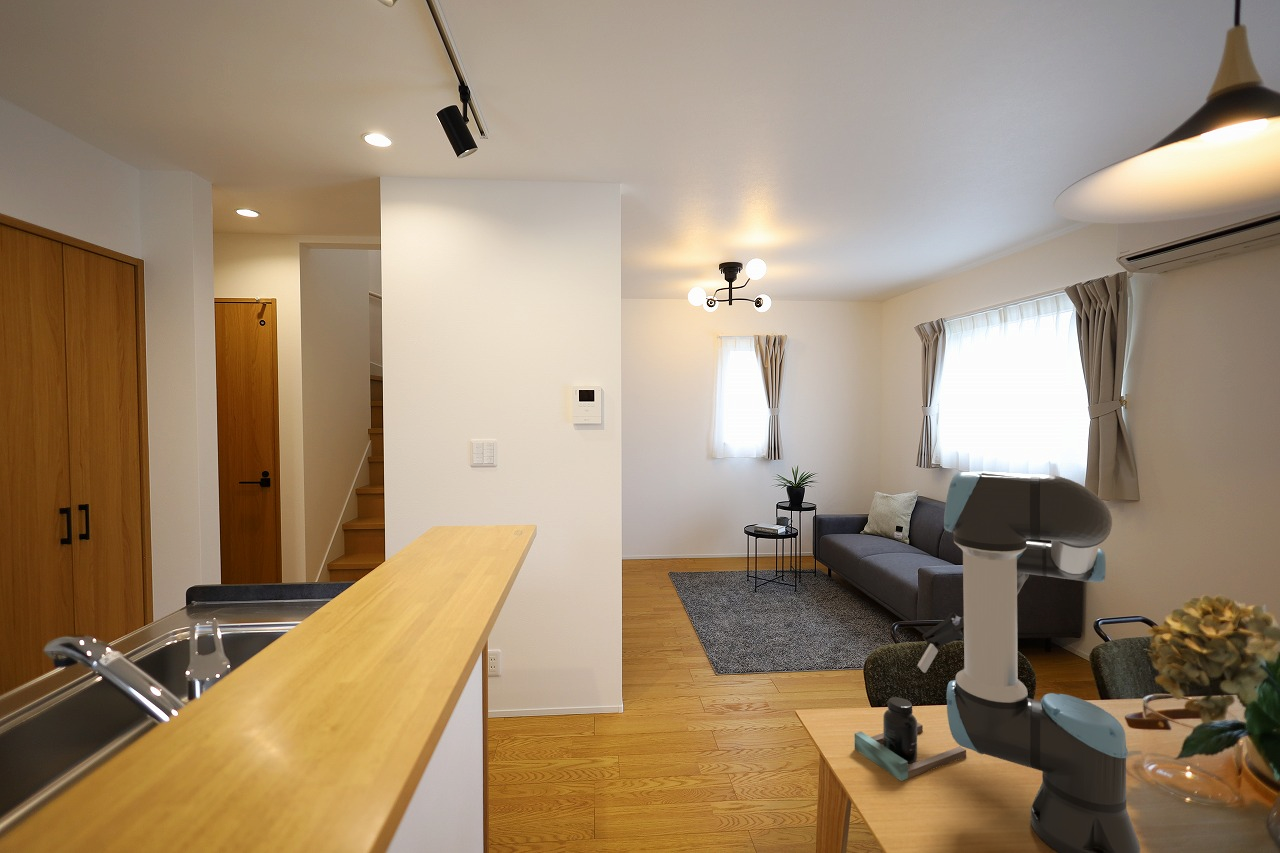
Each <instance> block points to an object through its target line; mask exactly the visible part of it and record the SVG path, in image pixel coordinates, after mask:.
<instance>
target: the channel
mask: <svg viewBox="0 0 1280 853" xmlns="http://www.w3.org/2000/svg"><path fill="white" fill-rule="evenodd" d="M923 729H924V728H923V724H922V723H920V722H918V721H917V734H919V733H922V732H923ZM854 750H856V751H857V752H858V753H860V754H862V755H863V756H864V757H866V758H867V759H868V760H870V761H871V762H873V763H874V764H876V765H877V766H878V767H880V768H881V769H883V770H884V769H885V770H884V771H885V772H887V773H888V772H889V773H888V774H890V775H891V776H893V777H894V778H895V779H897V780H899V781H900V782H902V781H906V780H907V779H910V777H911V778H913V777H916V776H919V775H920V774H923V773H927V772H928V770H929V771H931V769H932V770H934V769H933V768H935V769H937V768H939V766H940V767H942V765H943V766H945V765H948V764H950V762H951V763H953V762H956V761H958V759H959V760H961V759H963V758H967V749H965V747H962V746H960V745H959V746H957V747H954V748H951V749H949V750H946V751H942V752H941V753H938V754H937V753H936V754H935V755H932V756H929V757H926V758H923V759H921V760H919V761H918V760H917V761H915V762H914V763H912V764H908V762H907V761H906V760H904V759H903V758H901V757H900V756H898V755H897V754H895V753H894V752H892V751H890V750H889V749H887V748H886V747H884V746H883V733H879V734H875V735H873V736H869V735H867V734H866V733H864V732H863V731H858V732H855V733H854ZM955 760H956V761H955ZM936 767H937V768H936ZM926 771H927V772H926Z"/></svg>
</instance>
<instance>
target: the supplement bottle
mask: <svg viewBox="0 0 1280 853" xmlns="http://www.w3.org/2000/svg"><path fill="white" fill-rule="evenodd" d="M887 703H888V705H887V708H888V709H887V710H885V711H884V714H883V720H882V721H883V723H882V724H883V726H882V727H883V728H882V729H883V731H882V732H883V746H884V747H886V748H887V749H889V750H890V751H892V752H894V753H895V754H897V755H898V756H900V757H901V758H903V759H904V760H906V761H907V762H908V765H909V764H912V763H915V762H917V761H918V733H917V722H918V720H917V718H916V717H915V715H914V714H913V713H914V712H913V711H914V710H913V704H912V702H911V701H909V700H908V699H906V698H903V697H897V696H893V697H890V698H889V699H888V701H887Z"/></svg>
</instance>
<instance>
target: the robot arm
mask: <svg viewBox="0 0 1280 853" xmlns="http://www.w3.org/2000/svg"><path fill="white" fill-rule="evenodd" d="M944 506H945V507H944V514H943V515H944V516H943V529H944V531H946V532H948V533H953V543H954V544H955V545H956V546H957V547H958V548H960V550H961V551H962V573H963V578H962V580H963V581H962V583H963V584H962V585H963V588H962V589H963V591H962V593H963V595H962V596H963V616H962V617H960V616H958V615H957V614H956V613H955V612H950V613H949V614H948V616H946V618H945V619H944V620H942V621H940V622H939V623H938V624H936V625H935V626H933V627H931V628H930V629H929V630H927V631H926V632H925V633H924V634H922V636H921V637H922V638H923V640H924V641H925V642H926V645H925V646H924V647H923V650H922V652H921V655H922V656H921V658H920V660H919V661H918V663H917V667H918V669H920V670H921V672H922V673H924V674H925V673H927V671H928V669H929V668H930V666H931V664H932V663H933V661H934V660H935V657H936V656H937V654H938V652H939V650H938V649H937V648H939V647H943V646H944V645H947V644H949V643H952V642H954V641H956V640H959V639H961V640H963V648H964V649H963V651H964V653H963V654H964V655H963V656H964V657H963V659H964V660H963V663H964V664H963V669H961V670H959V671H958V672H957V673H956V674H955V679H953V680H950V681H949V682H948V684H947V687H946V713H947V721H948V726H949V730H950V734H951V736H952V739H954V741H955V742H956V743H957V745H959V746H960V747H962V748H964V749H965V748H966V749H968V750H971V751H974V752H976V753H977V754H980V755H986V756H990V757H994V758H997V759H1000V760H1003V761H1006V762H1010V763H1014V764H1017V765H1021V766H1024V767H1027V768H1030V769H1033V770H1036V771H1041V772H1042V774H1041V776H1042V781H1041V784H1040V786H1039V788H1038V791H1037V793H1036V795H1035V798H1034V800H1033V802H1032V804H1031V808H1030V824H1031V827H1032V828H1033V831H1034V832H1035V834H1036V836H1038V837H1039V838H1040V839H1041V840H1042V842H1044V843H1045V844H1046V845H1047V846H1048V847H1050V848H1051V849H1053V850H1054V851H1055V852H1057V853H1141V845H1140V842H1139V838H1138V836H1137V833H1136V831H1135V830H1136V829H1134V828H1135V827H1134V825H1133V823H1132V820H1131V818H1130V813H1129V812H1128V808H1127V758H1128V756H1129V751H1128V748H1127V740H1126V739H1127V738H1126V737H1127V736H1126V731H1125V729H1124V726H1123V725H1122V723H1121V722H1120V721H1119V720H1118V719H1117V718H1116V717H1115V716H1113V714H1111V713H1109V711H1106V710H1105V709H1104V708H1102V707H1100V706H1098V705H1096V704H1094V703H1091V702H1090V701H1088V700H1084V699H1081V698H1079V697H1076V696H1074V695H1073V696H1072V695H1069V694H1064V693H1054V692H1053V693H1052V692H1050V693H1047V694H1044V695H1043V696H1042V698H1041V699H1040V700H1037V699H1032V698H1028V696H1029V695H1028V688H1027V687H1026V686H1025V684H1024V683H1023V682H1022V681H1021V680H1020V679H1018V673H1019V672H1018V670H1019V669H1018V595H1019V593H1020V592H1021V589H1022V587H1023V585H1024V584H1025V582H1026V581H1027V580H1028V579H1029V575H1035V576H1043V577H1052V578H1058V579H1064V580H1066V579H1067V580H1073V581H1080V582H1084V583H1088V582H1089V583H1090V582H1091V583H1104V581H1105V580H1106V575H1107V568H1106V566H1107V564H1106V554H1105V551H1104V550H1103V549H1101V548H1099V546H1100V544H1102V543H1103V542H1105V540H1106V539H1107V538H1108V537H1109V535H1110V533H1111V530H1112V526H1113V517H1112V514H1111V511H1110V509H1109V507H1108V506H1107V504H1106V503H1105V502H1104V501H1103V500H1102V498H1100V497H1099V496H1098V495H1097V494H1096V493H1095V492H1093V491H1092V490H1090V489H1089V488H1088V487H1085V486H1084V485H1082V484H1080V483H1079V482H1076V481H1075V480H1071V479H1069V478H1065V477H1063V476H1059V475H1054V474H1045V473H1043V474H1042V473H1040V474H1038V473H1037V474H1036V473H1035V474H1034V473H1019V472H1018V473H1017V472H998V471H983V470H980V471H960V472H957V473H956V474H954V476H953V477H952V478H951V481H950V483H949V487H948V491H947V495H946V500H945V505H944ZM1030 540H1031V541H1030ZM1032 540H1036V541H1032ZM1039 540H1041V541H1051V542H1049V543H1048V542H1040V541H1039Z"/></svg>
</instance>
